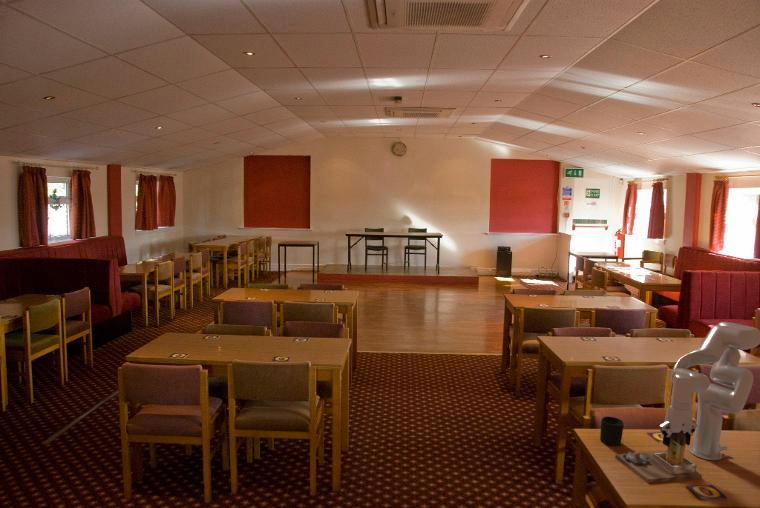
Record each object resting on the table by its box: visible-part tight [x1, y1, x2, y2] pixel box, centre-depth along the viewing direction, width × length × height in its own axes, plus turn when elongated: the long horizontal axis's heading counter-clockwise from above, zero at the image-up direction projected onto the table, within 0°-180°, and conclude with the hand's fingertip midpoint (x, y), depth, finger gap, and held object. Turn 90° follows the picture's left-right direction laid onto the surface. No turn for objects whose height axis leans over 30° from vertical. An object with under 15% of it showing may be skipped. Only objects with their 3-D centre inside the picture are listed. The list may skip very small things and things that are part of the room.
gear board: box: [614, 450, 703, 484], centre depth 229 cm, size 25×20×5 cm
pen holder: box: [599, 416, 625, 447], centre depth 251 cm, size 9×9×10 cm
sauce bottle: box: [666, 424, 686, 466], centre depth 228 cm, size 6×6×20 cm
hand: (676, 444), depth 228 cm, fingers open, 9 cm apart
